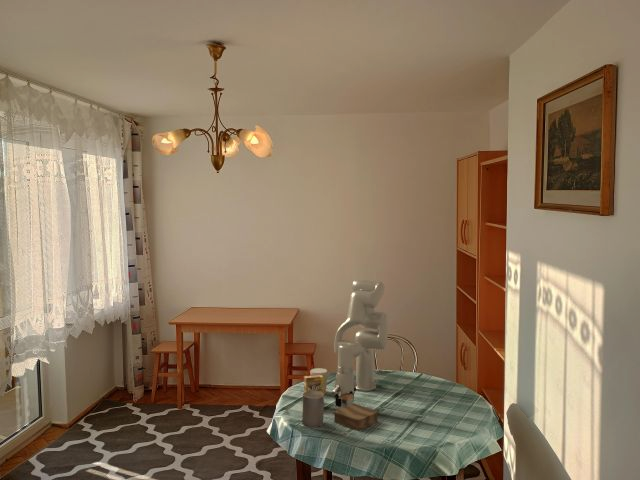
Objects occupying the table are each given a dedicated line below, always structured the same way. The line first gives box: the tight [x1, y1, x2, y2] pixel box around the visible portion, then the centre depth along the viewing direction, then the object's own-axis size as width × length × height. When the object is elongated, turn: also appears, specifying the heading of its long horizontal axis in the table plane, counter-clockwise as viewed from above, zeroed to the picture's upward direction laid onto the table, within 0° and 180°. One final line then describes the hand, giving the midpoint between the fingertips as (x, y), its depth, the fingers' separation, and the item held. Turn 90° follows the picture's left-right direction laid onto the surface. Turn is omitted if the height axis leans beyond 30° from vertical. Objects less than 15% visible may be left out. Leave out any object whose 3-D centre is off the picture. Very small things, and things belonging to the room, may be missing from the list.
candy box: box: [303, 375, 323, 393], centre depth 287 cm, size 9×4×15 cm, turn 107°
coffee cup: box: [309, 367, 329, 395], centre depth 308 cm, size 9×9×12 cm
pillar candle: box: [301, 391, 325, 428], centre depth 265 cm, size 10×10×15 cm
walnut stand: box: [332, 403, 380, 432], centre depth 268 cm, size 15×15×5 cm
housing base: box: [335, 398, 354, 409], centre depth 287 cm, size 5×7×5 cm
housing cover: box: [338, 392, 353, 401], centre depth 286 cm, size 4×7×2 cm, turn 47°
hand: (344, 403), depth 287 cm, fingers open, 9 cm apart
